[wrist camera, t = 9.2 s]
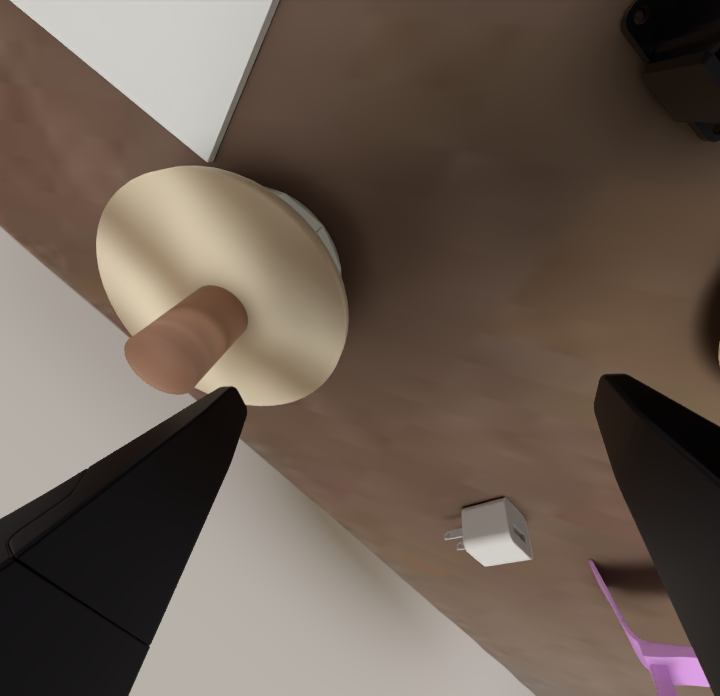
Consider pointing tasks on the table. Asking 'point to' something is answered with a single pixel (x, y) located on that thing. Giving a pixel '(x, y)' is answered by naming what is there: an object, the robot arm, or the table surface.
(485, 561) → the usb wall charger
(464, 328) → the table surface
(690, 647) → the toy chair
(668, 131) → the table surface
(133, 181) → the lid
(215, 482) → the robot arm
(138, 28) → the mat
